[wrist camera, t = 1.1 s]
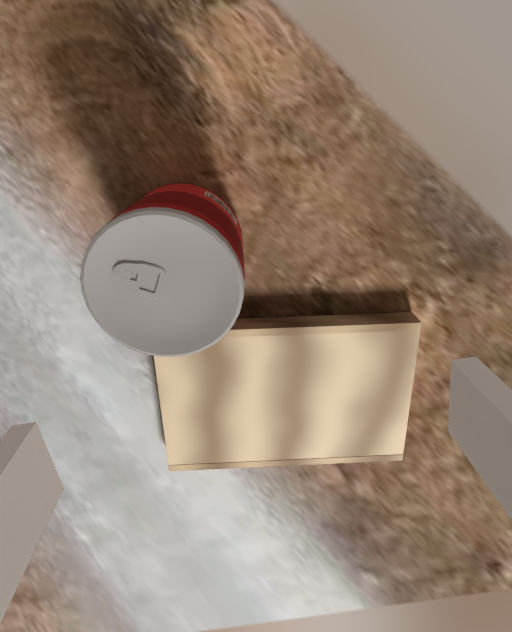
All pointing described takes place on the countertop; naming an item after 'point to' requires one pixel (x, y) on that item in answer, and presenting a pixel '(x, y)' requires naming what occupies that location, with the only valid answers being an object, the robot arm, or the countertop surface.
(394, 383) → the cutting board
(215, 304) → the canned food
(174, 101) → the countertop surface
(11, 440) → the robot arm
